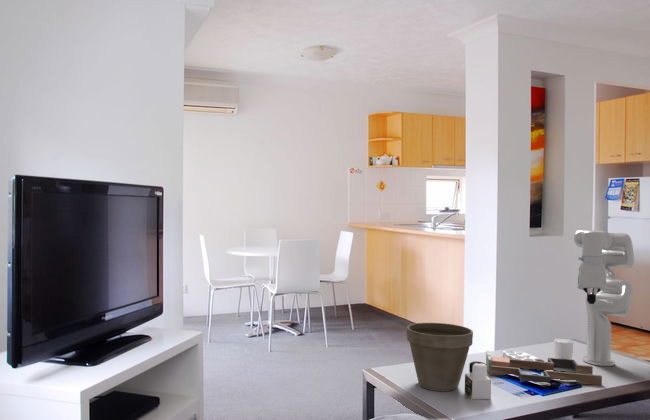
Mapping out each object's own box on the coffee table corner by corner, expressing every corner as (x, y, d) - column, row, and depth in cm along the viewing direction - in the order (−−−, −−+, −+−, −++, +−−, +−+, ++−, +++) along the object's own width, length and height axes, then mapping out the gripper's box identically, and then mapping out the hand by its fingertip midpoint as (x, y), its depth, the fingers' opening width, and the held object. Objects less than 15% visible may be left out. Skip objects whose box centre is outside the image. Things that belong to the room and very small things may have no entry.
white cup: (575, 366, 225) (575, 343, 225) (555, 364, 226) (556, 342, 226) (570, 361, 232) (570, 339, 233) (551, 359, 234) (552, 337, 234)
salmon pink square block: (492, 366, 221) (492, 356, 221) (509, 368, 219) (509, 358, 219) (491, 371, 215) (491, 360, 215) (509, 373, 212) (509, 362, 212)
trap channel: (484, 360, 230) (485, 346, 231) (586, 369, 221) (587, 355, 221) (489, 380, 202) (490, 365, 202) (607, 391, 192) (607, 375, 192)
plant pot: (415, 371, 211) (416, 318, 211) (477, 381, 200) (478, 325, 201) (396, 389, 189) (398, 330, 189) (464, 401, 178) (466, 339, 178)
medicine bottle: (464, 392, 187) (465, 359, 187) (483, 392, 187) (483, 359, 187) (471, 399, 180) (472, 365, 180) (491, 399, 180) (491, 365, 180)
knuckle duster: (549, 367, 222) (521, 370, 218) (521, 356, 240) (495, 358, 235) (549, 360, 223) (521, 362, 218) (521, 349, 240) (495, 351, 235)
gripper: (575, 260, 214) (574, 303, 214) (614, 261, 211) (613, 306, 211) (570, 258, 222) (570, 301, 222) (608, 260, 218) (608, 303, 218)
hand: (591, 303), depth 216 cm, fingers closed
